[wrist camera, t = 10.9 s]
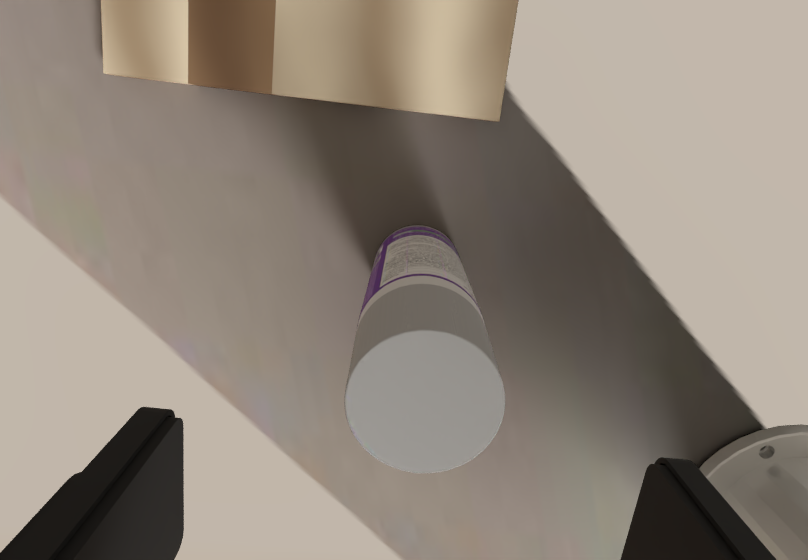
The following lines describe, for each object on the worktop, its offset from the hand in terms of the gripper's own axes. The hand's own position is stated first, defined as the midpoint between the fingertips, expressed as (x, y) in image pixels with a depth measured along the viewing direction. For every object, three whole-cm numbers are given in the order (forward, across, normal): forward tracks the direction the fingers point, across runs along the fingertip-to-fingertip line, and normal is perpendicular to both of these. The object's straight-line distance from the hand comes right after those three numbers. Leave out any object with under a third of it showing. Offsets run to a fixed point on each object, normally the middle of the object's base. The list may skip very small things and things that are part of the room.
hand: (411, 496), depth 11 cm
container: (+19, -1, 0) cm, 19 cm away
